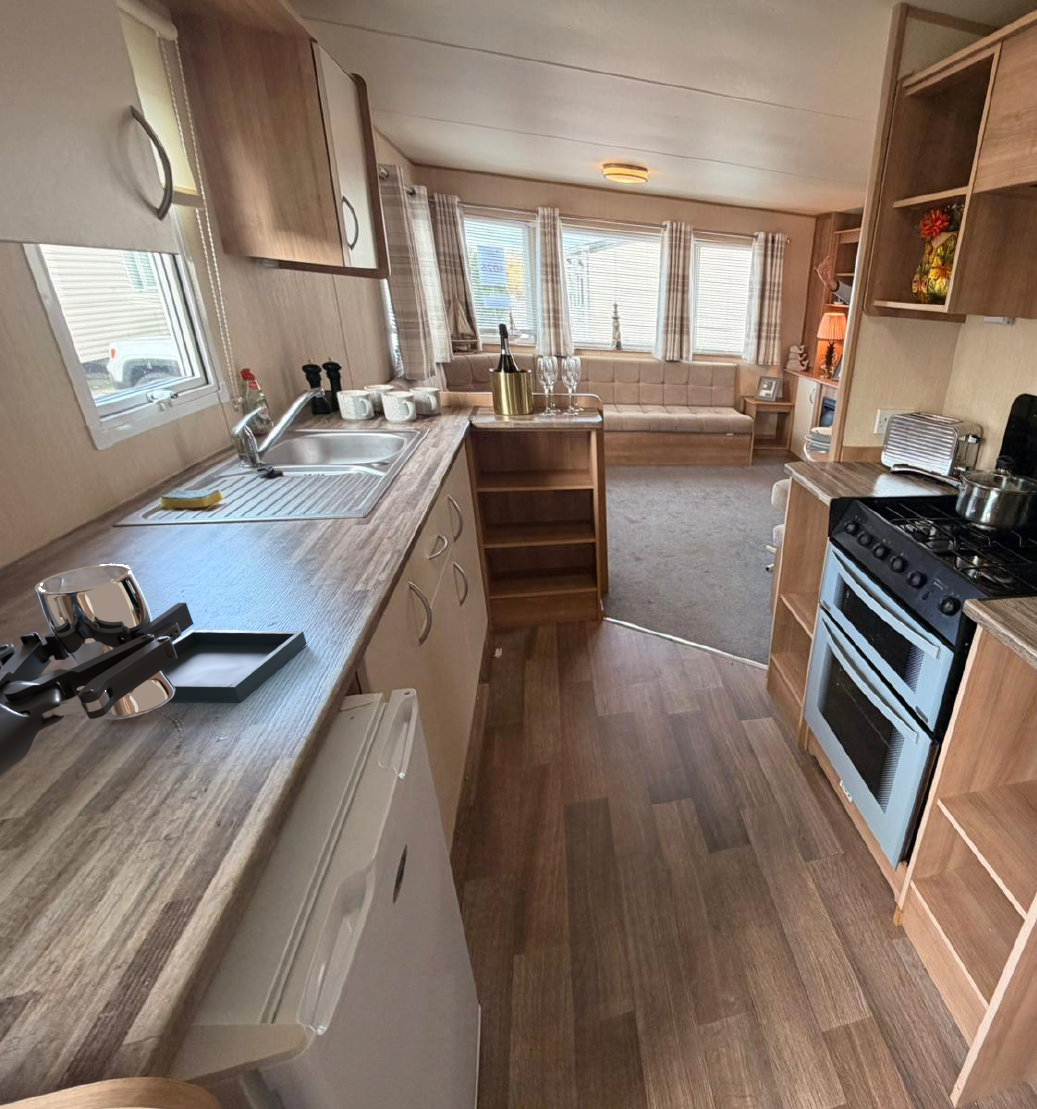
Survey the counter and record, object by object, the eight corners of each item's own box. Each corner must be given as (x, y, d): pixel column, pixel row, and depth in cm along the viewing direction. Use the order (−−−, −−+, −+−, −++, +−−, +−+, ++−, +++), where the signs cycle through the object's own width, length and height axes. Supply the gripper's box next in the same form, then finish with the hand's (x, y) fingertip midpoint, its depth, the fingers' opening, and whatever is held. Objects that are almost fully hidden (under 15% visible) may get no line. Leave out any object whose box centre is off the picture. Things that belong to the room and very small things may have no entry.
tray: (110, 701, 79) (102, 685, 78) (197, 643, 92) (191, 629, 91) (240, 702, 80) (234, 687, 79) (307, 645, 93) (303, 631, 92)
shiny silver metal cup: (77, 711, 62) (15, 584, 56) (157, 676, 68) (109, 558, 62) (116, 730, 60) (55, 600, 54) (196, 692, 66) (149, 571, 60)
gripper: (-213, 814, 44) (52, 648, 65) (101, 787, 48) (257, 639, 68) (-276, 735, 41) (23, 588, 62) (64, 713, 45) (238, 581, 65)
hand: (145, 615), depth 65 cm, fingers closed on shiny silver metal cup, 7 cm apart
